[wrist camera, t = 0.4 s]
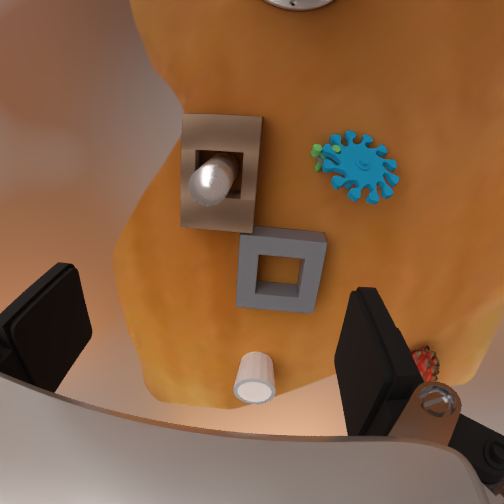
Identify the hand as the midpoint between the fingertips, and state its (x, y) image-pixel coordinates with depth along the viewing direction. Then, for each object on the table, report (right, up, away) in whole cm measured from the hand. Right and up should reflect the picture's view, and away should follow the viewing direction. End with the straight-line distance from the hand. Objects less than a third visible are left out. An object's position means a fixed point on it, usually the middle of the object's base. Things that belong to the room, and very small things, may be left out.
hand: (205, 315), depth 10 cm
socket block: (+5, 0, +35) cm, 35 cm away
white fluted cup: (+2, -17, +44) cm, 47 cm away
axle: (-2, +13, +29) cm, 32 cm away
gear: (+14, +14, +28) cm, 34 cm away
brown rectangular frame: (-2, +13, +29) cm, 32 cm away
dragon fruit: (+31, -18, +42) cm, 56 cm away
